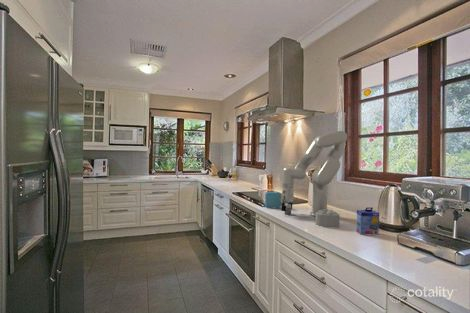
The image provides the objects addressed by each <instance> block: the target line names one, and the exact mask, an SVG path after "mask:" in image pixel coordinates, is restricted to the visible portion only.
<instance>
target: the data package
mask: <svg viewBox="0 0 470 313" xmlns="http://www.w3.org/2000/svg"><path fill="white" fill-rule="evenodd" d="M281 199H282V192H279V191H266V192H265V193H264V207H266V208H267V209H281Z"/></svg>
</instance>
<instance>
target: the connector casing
mask: <svg viewBox="0 0 470 313" xmlns="http://www.w3.org/2000/svg"><path fill="white" fill-rule="evenodd" d="M285 206H286V211H284V215H285V216H291V215H292V209H291V204H288V203H286V205H285Z"/></svg>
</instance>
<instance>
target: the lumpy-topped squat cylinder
mask: <svg viewBox="0 0 470 313" xmlns="http://www.w3.org/2000/svg"><path fill="white" fill-rule="evenodd" d="M340 215H341V214H340V213H338V212H337V211H334V209H333V210H332V209H328V211H327V210H326V209H323V210H320V211H318V212H316V217H315V226H317V225H318V226H317V227H321V226H322V227H323V228H328V227H336V228H339V227H340V220H341V219H340ZM322 227H321V228H322Z"/></svg>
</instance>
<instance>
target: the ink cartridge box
mask: <svg viewBox="0 0 470 313" xmlns="http://www.w3.org/2000/svg"><path fill="white" fill-rule="evenodd" d="M373 209H374V208H373V207H366V208H365V209H357V210H356V229H355V230H356V231H355V232H357V233H358V234H359V233H360V234H359V235H361V234H378V235H379V230H380V229H379V228H380V226H379V225H380V224H379V223H380V212H379V211H376V210H373Z"/></svg>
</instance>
